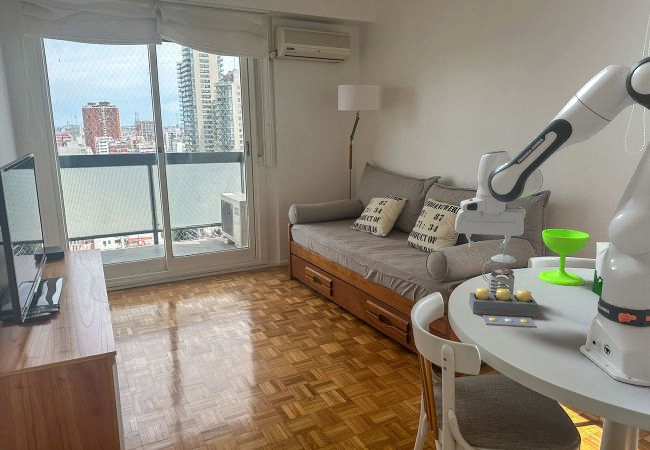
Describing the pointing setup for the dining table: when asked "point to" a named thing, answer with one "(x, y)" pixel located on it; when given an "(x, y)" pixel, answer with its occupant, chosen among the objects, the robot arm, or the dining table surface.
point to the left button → (482, 294)
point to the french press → (501, 271)
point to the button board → (505, 310)
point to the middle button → (502, 295)
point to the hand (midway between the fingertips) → (486, 248)
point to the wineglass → (563, 254)
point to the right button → (523, 296)
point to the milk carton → (600, 266)
